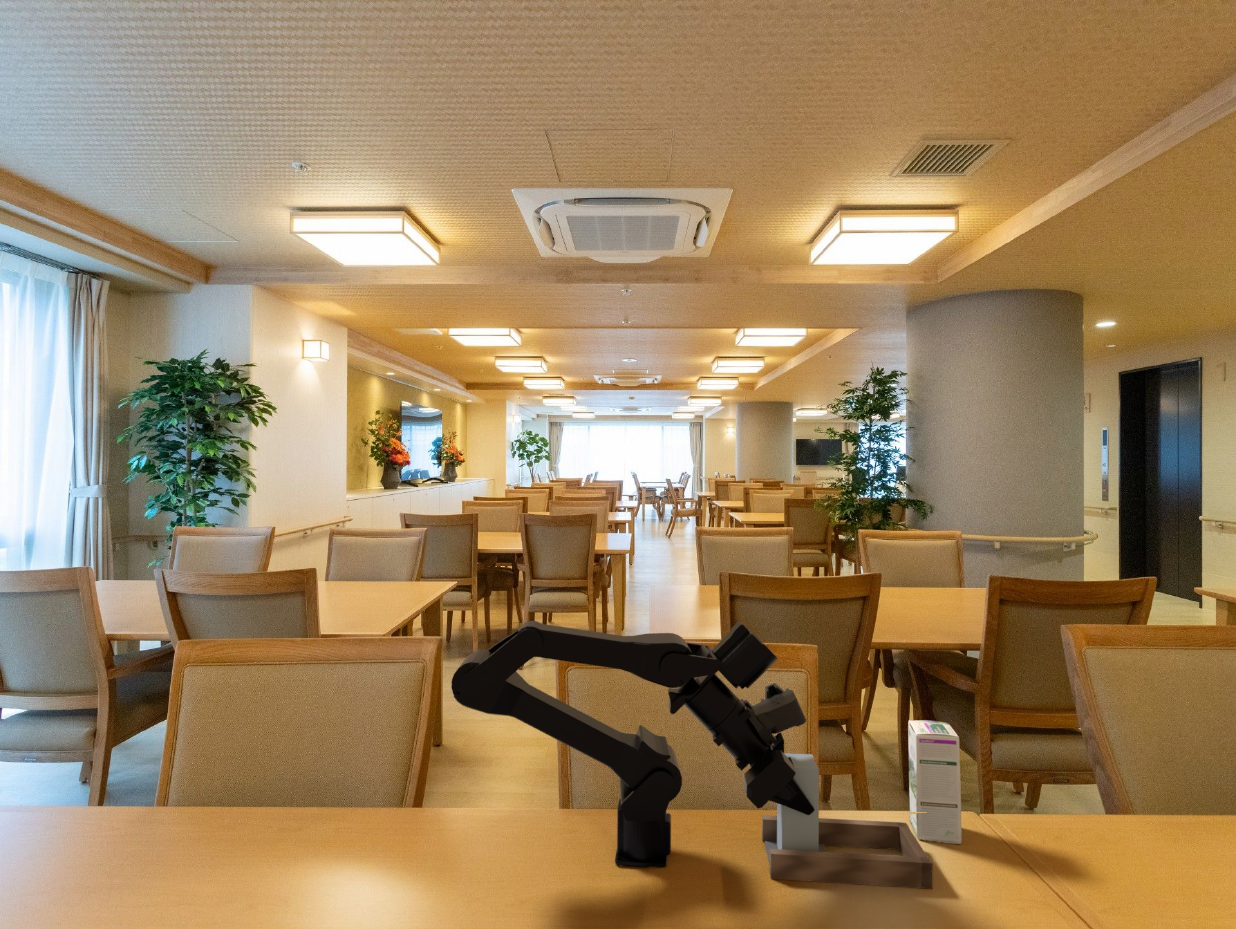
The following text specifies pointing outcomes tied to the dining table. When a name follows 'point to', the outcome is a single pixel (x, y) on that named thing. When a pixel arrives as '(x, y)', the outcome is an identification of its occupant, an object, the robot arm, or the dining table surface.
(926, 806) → the syrup box
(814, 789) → the slate block
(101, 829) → the dining table surface
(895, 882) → the frame
